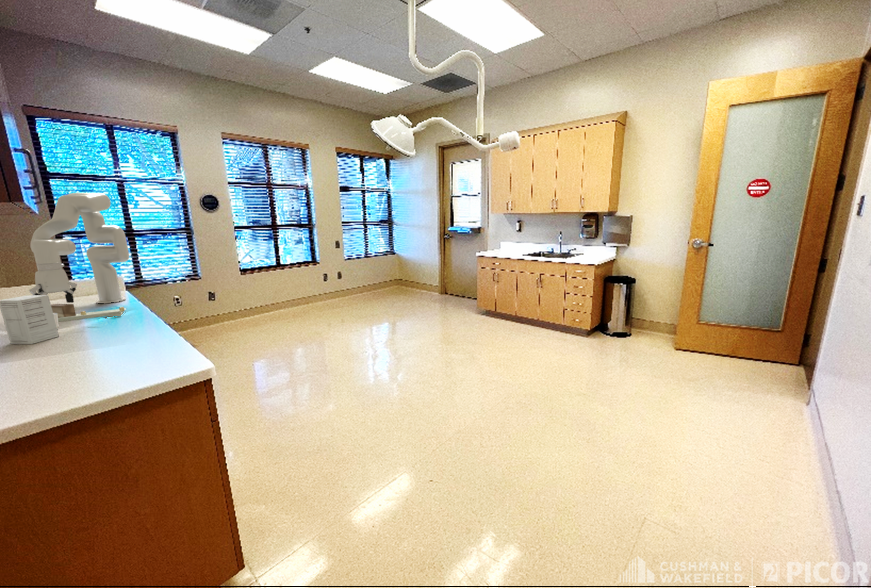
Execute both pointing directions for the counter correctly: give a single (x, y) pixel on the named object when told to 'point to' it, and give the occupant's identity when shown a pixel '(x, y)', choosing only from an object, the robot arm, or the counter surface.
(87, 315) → the panel
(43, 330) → the supplement box
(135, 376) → the counter surface
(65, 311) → the frame
